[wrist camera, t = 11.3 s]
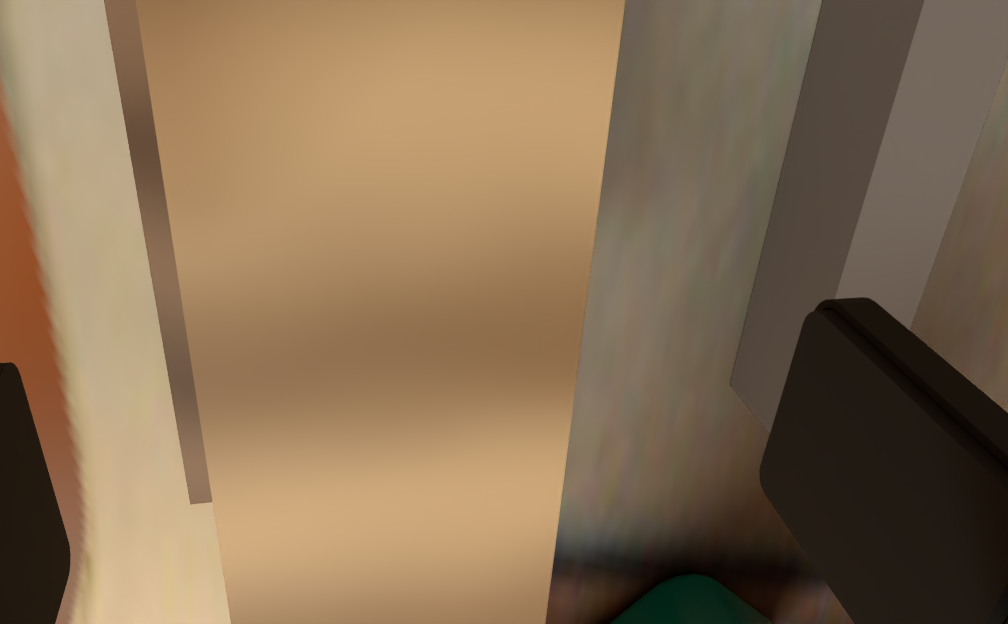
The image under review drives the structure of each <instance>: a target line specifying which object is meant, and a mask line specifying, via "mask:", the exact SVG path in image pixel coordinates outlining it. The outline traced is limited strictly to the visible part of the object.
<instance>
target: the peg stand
mask: <svg viewBox="0 0 1008 624" xmlns="http://www.w3.org/2000/svg"><path fill="white" fill-rule="evenodd" d="M104 3H105V9H106V15H107V21H108V27H109V33H110V38H111V44H112V50H113V56H114V62H115V67H116V73H117V79H118V85H119V91H120V97H121V102H122V108H123V114H124V120H125V126H126V132H127V137H128V143H129V149H130V155H131V161H132V166H133V172H134V178H135V184H136V190H137V196H138V201H139V207H140V213H141V219H142V225H143V231H144V236H145V242H146V248H147V254H148V260H149V265H150V271H151V277H152V283H153V289H154V295H155V300H156V306H157V312H158V318H159V324H160V330H161V335H162V341H163V347H164V353H165V359H166V365H167V370H168V376H169V382H170V388H171V394H172V399H173V405H174V411H175V417H176V423H177V429H178V434H179V440H180V446H181V452H182V458H183V464H184V469H185V475H186V481H187V487H188V493H189V498H190V504H198V503H207V502H212V495H211V489H210V482H209V476H208V469H207V463H206V456H205V450H204V443H203V437H202V430H201V424H200V417H199V411H198V404H197V398H196V391H195V385H194V378H193V372H192V365H191V359H190V352H189V346H188V339H187V333H186V326H185V319H184V313H183V306H182V300H181V293H180V287H179V280H178V274H177V267H176V261H175V254H174V248H173V241H172V235H171V228H170V222H169V215H168V209H167V202H166V196H165V189H164V183H163V176H162V170H161V163H160V157H159V150H158V144H157V137H156V131H155V124H154V118H153V111H152V104H151V98H150V91H149V85H148V78H147V72H146V65H145V59H144V52H143V46H142V39H141V33H140V26H139V20H138V13H137V7H136V0H104Z"/></svg>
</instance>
